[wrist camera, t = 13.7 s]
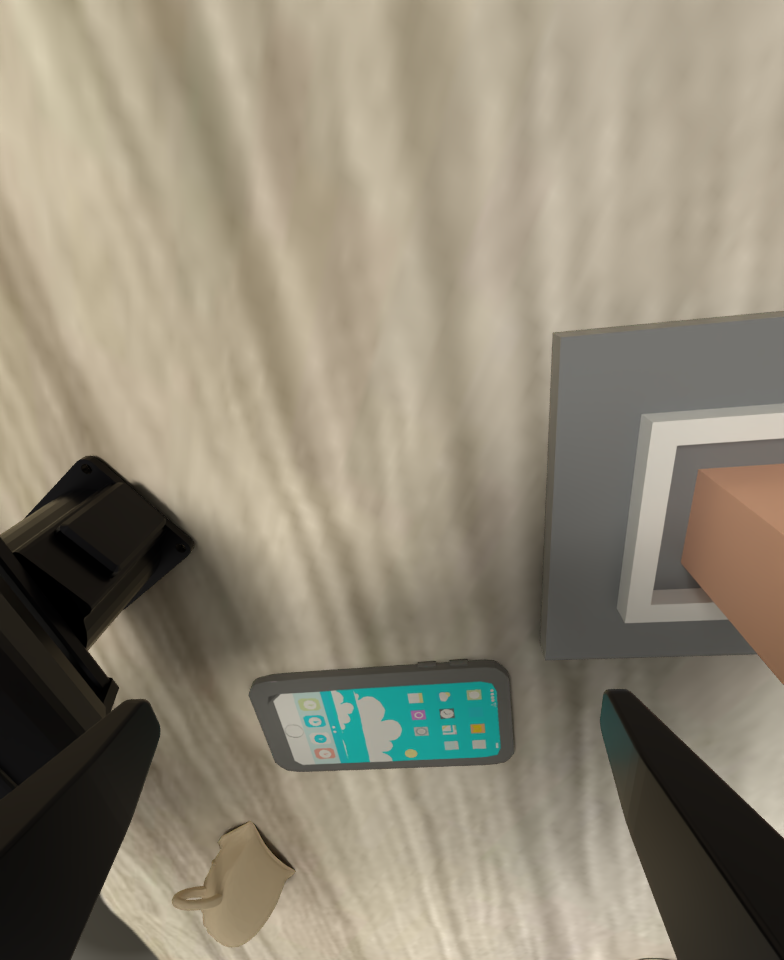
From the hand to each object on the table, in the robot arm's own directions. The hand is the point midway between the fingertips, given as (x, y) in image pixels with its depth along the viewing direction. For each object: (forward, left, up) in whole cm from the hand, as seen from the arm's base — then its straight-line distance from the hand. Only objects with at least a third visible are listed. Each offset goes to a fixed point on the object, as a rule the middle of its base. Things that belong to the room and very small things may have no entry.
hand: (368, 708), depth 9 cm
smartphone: (-12, -12, -14) cm, 22 cm away
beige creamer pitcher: (-29, -17, -13) cm, 36 cm away
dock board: (+10, -11, -13) cm, 20 cm away
